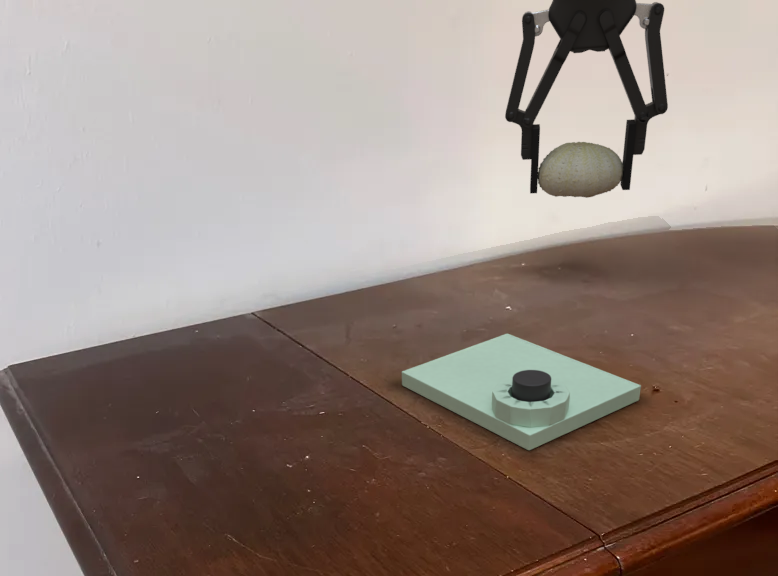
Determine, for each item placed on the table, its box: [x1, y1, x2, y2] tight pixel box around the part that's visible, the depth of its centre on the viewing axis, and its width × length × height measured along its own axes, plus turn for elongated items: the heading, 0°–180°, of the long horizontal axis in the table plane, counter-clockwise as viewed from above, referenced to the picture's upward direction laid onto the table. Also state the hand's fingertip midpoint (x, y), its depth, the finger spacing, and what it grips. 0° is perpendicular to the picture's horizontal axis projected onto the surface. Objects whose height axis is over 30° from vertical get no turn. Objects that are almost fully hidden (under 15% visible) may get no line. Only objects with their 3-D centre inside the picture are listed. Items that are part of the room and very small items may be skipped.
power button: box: [512, 370, 551, 402], centre depth 64 cm, size 3×3×2 cm
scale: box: [401, 333, 642, 451], centre depth 70 cm, size 16×13×3 cm
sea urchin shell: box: [537, 141, 624, 199], centre depth 89 cm, size 9×8×8 cm
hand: (578, 188), depth 90 cm, fingers closed on sea urchin shell, 9 cm apart
